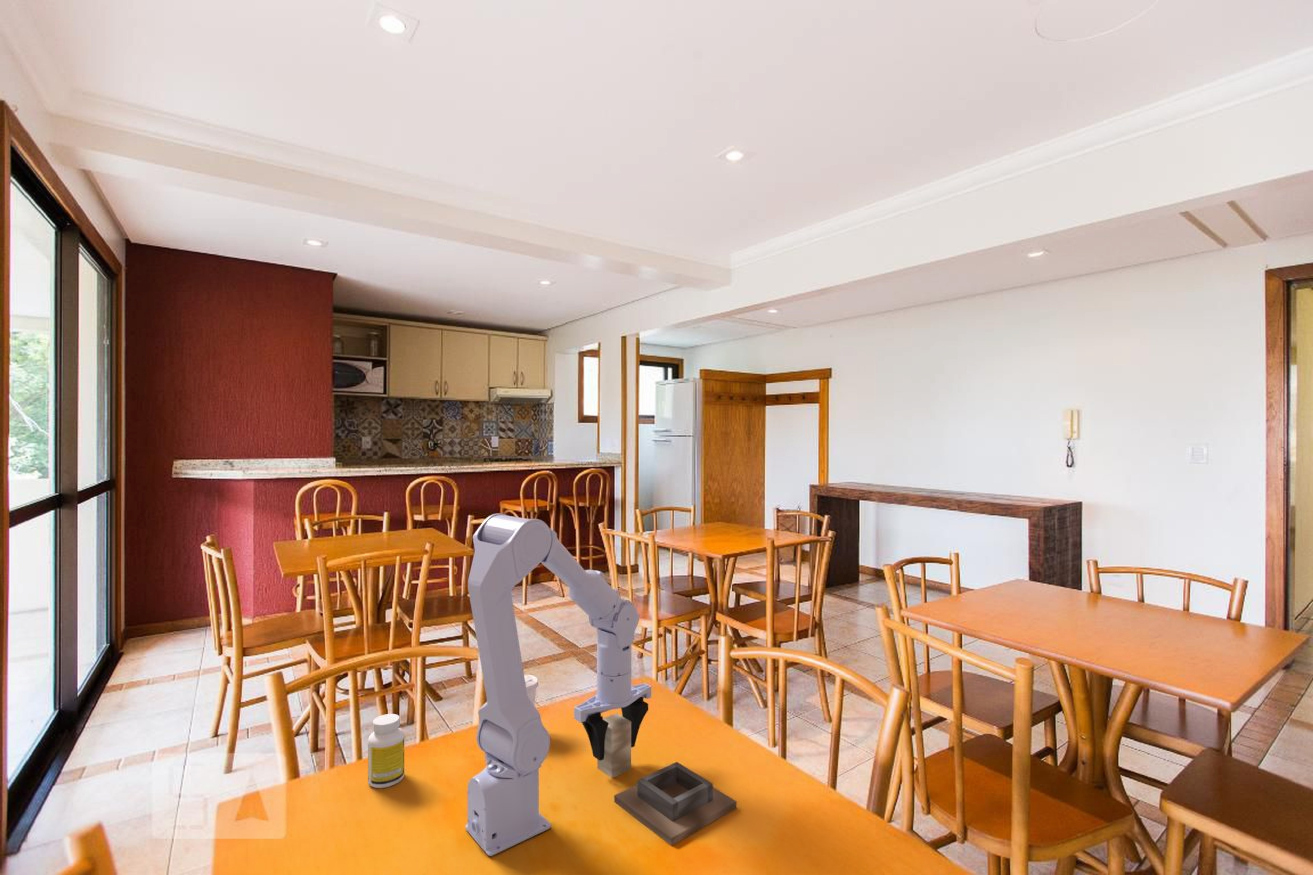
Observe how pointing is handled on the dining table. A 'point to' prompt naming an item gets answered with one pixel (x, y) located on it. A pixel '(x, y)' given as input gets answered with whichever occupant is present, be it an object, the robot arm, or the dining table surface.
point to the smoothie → (531, 687)
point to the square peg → (616, 746)
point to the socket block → (675, 802)
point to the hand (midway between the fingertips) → (614, 750)
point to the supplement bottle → (386, 752)
